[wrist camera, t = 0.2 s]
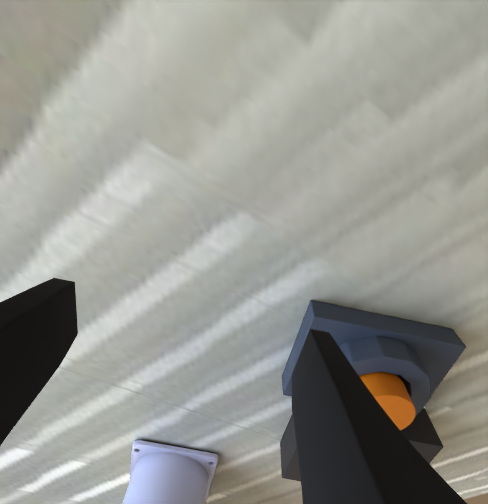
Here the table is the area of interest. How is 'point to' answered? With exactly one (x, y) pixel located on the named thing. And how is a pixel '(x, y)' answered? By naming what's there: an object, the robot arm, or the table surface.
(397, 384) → the button
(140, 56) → the table surface
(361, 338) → the button base
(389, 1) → the table surface
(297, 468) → the dial panel
